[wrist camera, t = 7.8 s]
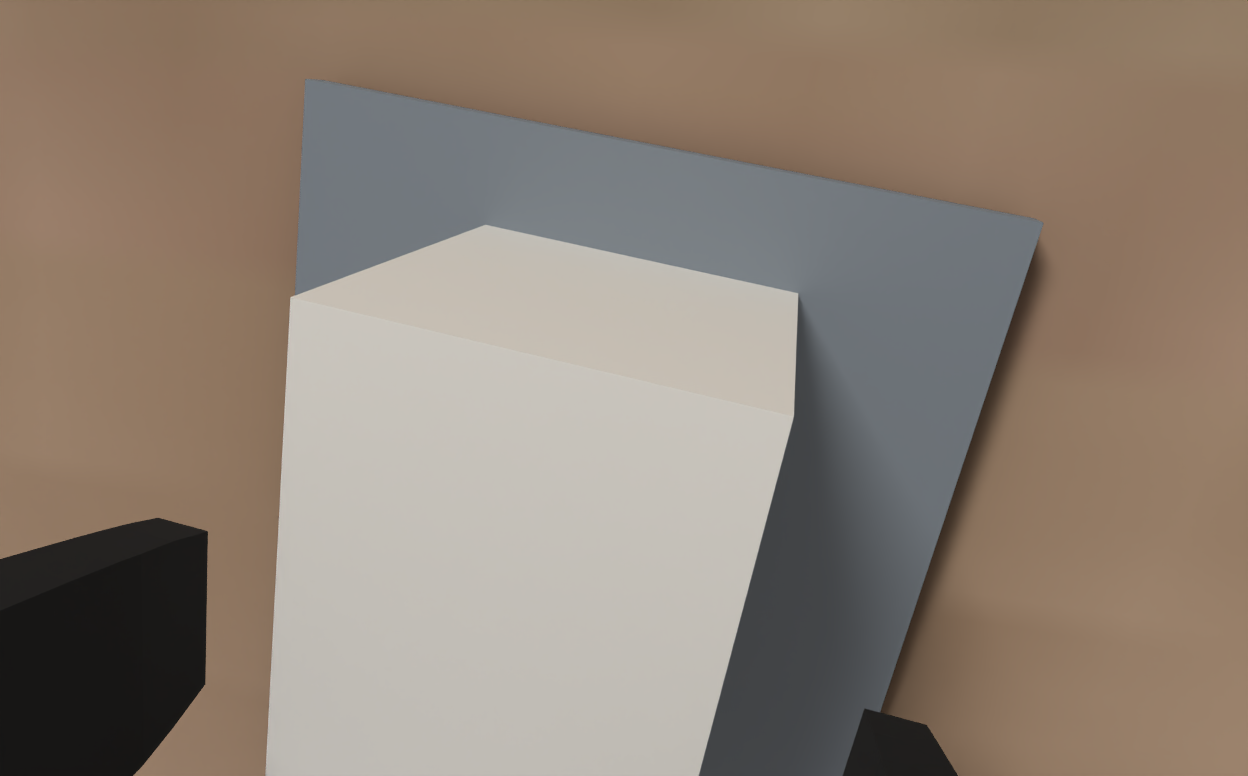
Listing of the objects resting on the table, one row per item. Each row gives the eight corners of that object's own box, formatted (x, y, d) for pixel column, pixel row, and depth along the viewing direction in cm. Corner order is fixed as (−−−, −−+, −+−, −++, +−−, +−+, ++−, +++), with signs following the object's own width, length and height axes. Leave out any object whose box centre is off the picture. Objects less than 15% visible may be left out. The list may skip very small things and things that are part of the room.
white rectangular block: (798, 292, 11) (794, 416, 6) (663, 826, 13) (598, 1153, 9) (484, 224, 11) (290, 296, 7) (419, 752, 14) (252, 1031, 10)
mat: (792, 952, 14) (791, 975, 14) (283, 795, 15) (269, 812, 15) (1034, 218, 10) (1042, 223, 10) (322, 79, 11) (305, 78, 11)
